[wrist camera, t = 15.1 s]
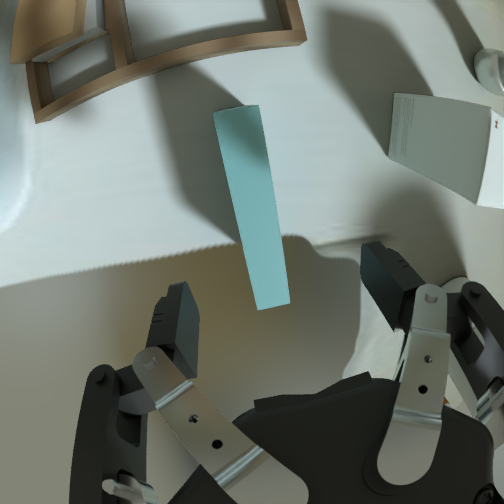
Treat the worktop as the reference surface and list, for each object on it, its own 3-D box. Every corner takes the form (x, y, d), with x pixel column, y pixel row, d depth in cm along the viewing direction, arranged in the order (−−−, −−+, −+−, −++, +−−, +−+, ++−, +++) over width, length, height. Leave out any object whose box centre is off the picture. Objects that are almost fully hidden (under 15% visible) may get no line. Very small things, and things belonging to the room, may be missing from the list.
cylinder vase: (419, 340, 42) (477, 445, 21) (414, 303, 36) (495, 433, 14) (467, 305, 40) (532, 396, 18) (469, 261, 33) (559, 367, 12)
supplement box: (385, 159, 24) (474, 207, 13) (392, 90, 20) (491, 103, 10) (433, 167, 25) (515, 213, 14) (441, 107, 21) (530, 132, 10)
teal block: (244, 105, 21) (258, 105, 13) (270, 244, 28) (290, 303, 20) (215, 111, 21) (212, 114, 13) (246, 250, 28) (257, 310, 20)
